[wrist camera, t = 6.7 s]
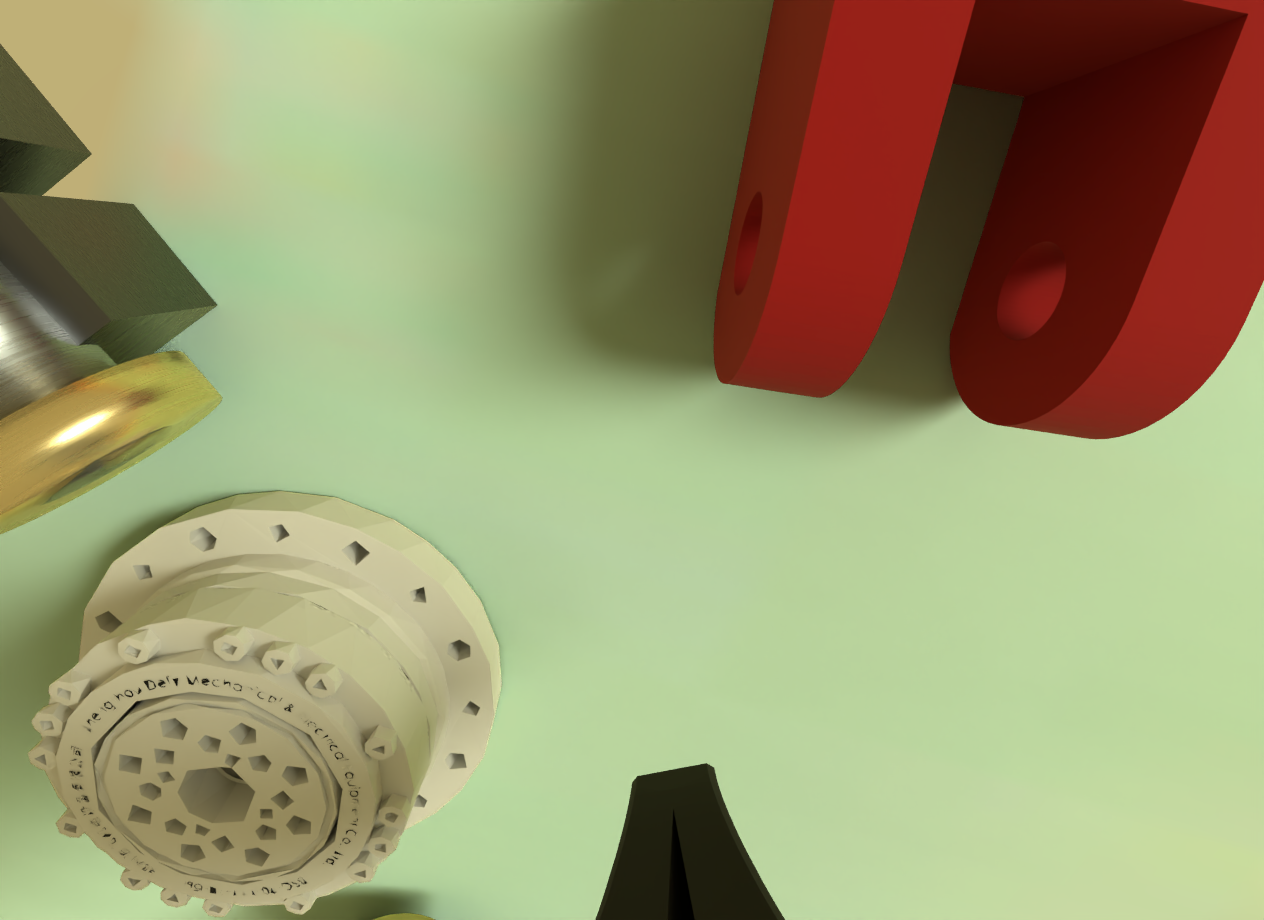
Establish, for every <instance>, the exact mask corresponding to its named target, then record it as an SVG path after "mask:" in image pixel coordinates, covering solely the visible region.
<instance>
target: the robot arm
mask: <svg viewBox="0 0 1264 920" xmlns="http://www.w3.org/2000/svg"><path fill="white" fill-rule="evenodd" d="M596 920H785V919H784V917H783V916H782V914H781V912H780V911H779V909H778V907H777V906H776V904H775V902H774V901H773V899H772V897H771V895H770V894H769V892H768V890H767V888H766V887H765V885H764V883H763V881H762V880H761V878H760V876H759V874H758V872H757V870H756V868H755V866H754V864H753V863H752V861H751V859H750V857H749V855H748V853H747V851H746V849H745V847H744V845H743V843H742V841H741V839H740V837H739V835H738V833H737V831H736V829H735V826H734V824H733V822H732V820H731V817H730V815H729V813H728V810H727V808H726V805H725V803H724V800H723V798H722V795H721V792H720V789H719V786H718V782H717V779H716V774H715V770H714V767H712V766H710V765H709V764H707V763H706V764H700V765H695V766H690V767H684V768H679V769H674V770H668V771H663V772H657V773H652V774H647V775H641V776H637V777H636V779H635V780H634V781H633V782H632V788H631V795H630V800H629V805H628V810H627V814H626V819H625V823H624V827H623V831H622V835H621V839H620V842H619V846H618V850H617V854H616V857H615V860H614V864H613V867H612V870H611V873H610V877H609V880H608V883H607V887H606V890H605V893H604V896H603V899H602V902H601V905H600V908H599V911H598V914H597V917H596Z"/></svg>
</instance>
